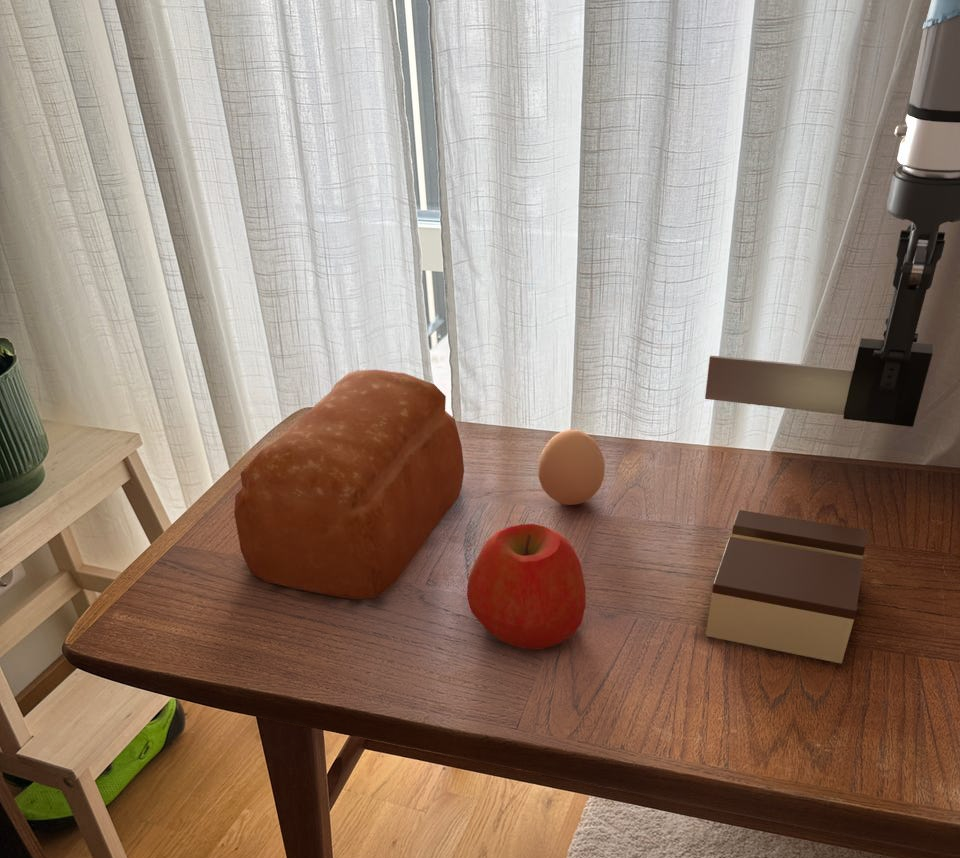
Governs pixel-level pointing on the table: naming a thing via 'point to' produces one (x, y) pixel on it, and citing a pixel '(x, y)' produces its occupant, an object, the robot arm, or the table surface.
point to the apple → (528, 587)
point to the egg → (571, 467)
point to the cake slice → (800, 534)
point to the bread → (351, 487)
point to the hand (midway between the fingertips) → (880, 409)
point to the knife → (819, 384)
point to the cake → (785, 599)
